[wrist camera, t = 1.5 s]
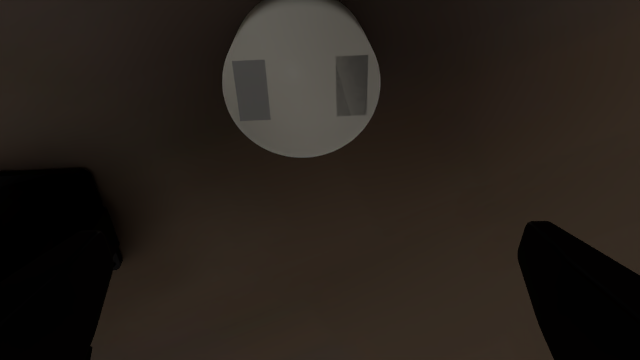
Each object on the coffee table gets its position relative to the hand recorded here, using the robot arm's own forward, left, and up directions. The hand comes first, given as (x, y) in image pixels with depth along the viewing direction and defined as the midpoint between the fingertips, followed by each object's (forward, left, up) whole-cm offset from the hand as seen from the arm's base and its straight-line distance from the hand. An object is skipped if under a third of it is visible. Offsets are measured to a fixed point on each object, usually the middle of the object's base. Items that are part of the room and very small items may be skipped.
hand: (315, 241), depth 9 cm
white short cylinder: (0, 0, -12) cm, 12 cm away
